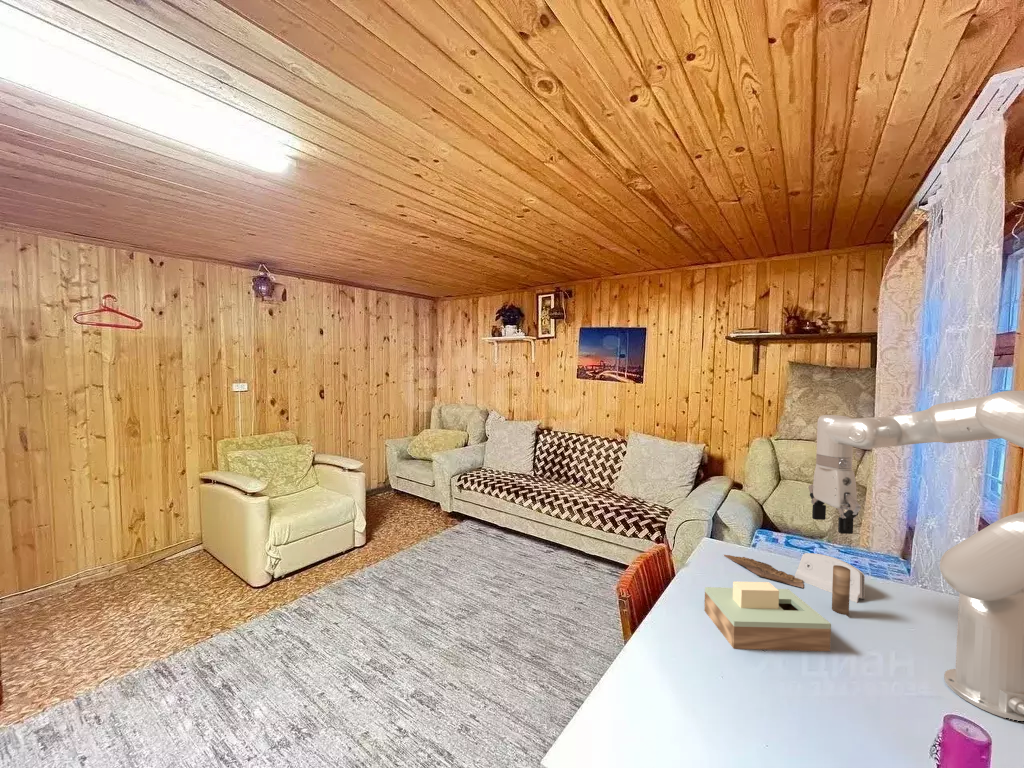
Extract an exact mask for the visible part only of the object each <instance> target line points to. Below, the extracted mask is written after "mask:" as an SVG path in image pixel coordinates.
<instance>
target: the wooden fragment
mask: <svg viewBox="0 0 1024 768" xmlns="http://www.w3.org/2000/svg"><path fill="white" fill-rule="evenodd" d="M723 555H724V557H726V559H729V560H730V561H733V562H735V563H736V564H738V565H740V566H741V567H744V568H745V569H747V570H748V571H750V572H751V573H753V574H754V575H757V576H758V578H759V577H760V578H766V579H769V580H772V581H775V582H776V581H777V582H780V583H783V584H786V585H789V586H790V585H791V586H794V587H799V588H802V589H804V587H805V583H804V582H803V580H801V579H798V578H795V575H793V574H788V573H786V572H785V571H782V570H778V569H776V568H774V567H773V566H772V565H770V564H768V563H767V562H761V561H759V560H755V559H753V558H750V557H749V558H748V557H745V556H742V557H741V556H734V555H730V554H723Z"/></svg>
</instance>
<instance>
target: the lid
mask: <svg viewBox="0 0 1024 768" xmlns="http://www.w3.org/2000/svg"><path fill="white" fill-rule="evenodd" d="M705 592H706V593H707V595H708V596H709V597H710V598H711V599H712V601H713V602H714V603H715V604H716V605H717V607H718V608H719V609H720V610H721V611H722V613H723V614H724V615H725V616H726V617H727V618H728V620H729V621H730V622H731V623H732V624H733V626H735V627H776V628H816V629H831V630H832V623H831V622H829V621H828V620H827V619H826V618H825V617H823V615H821V614H820V613H819V612H818V611H816V610H815V609H813V608H812V607H811V606H810V605H808V604H807V603H806V601H803V599H801V597H799V596H797V595H796V594H795V593H794V592H793V591H792V590H790V589H789V588H776V587H775V586H774V585H773V584H772V583H771V582H768V581H767V582H766V581H765V582H764V581H733V582H732V587H714V586H713V587H712V586H710V587H708V586H707V587H706V586H705V587H704V593H705ZM779 604H792V605H793V606H794V607H795V608H796V609H798V610H799V611H794V610H783V609H782V608H781V607H780V606H779Z"/></svg>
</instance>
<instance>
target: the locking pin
mask: <svg viewBox="0 0 1024 768" xmlns="http://www.w3.org/2000/svg"><path fill="white" fill-rule="evenodd" d="M831 596H832V597H831V610H832V611H833V612H834V613H836V614H839V615H842V616H847V617H848V618H849V616H850V600H849V596H850V569H848V568H846V567H843V566H839V565H834V566H833V587H832V593H831Z"/></svg>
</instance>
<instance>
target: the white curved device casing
mask: <svg viewBox="0 0 1024 768" xmlns="http://www.w3.org/2000/svg"><path fill="white" fill-rule="evenodd" d="M798 564H799V565H798V567H797V569H796V571H795V573H794V576H795V578H798V579H801V580H803V583H804V584H808V585H810V586H813V587H815V588H817V589H821V590H824V591H826V592H829V593H830V594H832V587H833V566H834V565H839V566H843V567H846V568H848V569H850V596H849V601H851V602H854V603H856V604H857V603H859V600H860V599H863V600H865V590H866V589H865V577H866V576H865V574H864V572H863V571H861V570H860V569H859V568H858V567H856V566H854V565H851V564H850V563H848V562H846V561H843V560H842V559H839V558H836V557H834V556H830V555H827V554H822V553H813V552H810V553H809V552H807V553H806V552H805V553H803V554H802V556H801V559H800V561H799V563H798Z"/></svg>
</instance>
